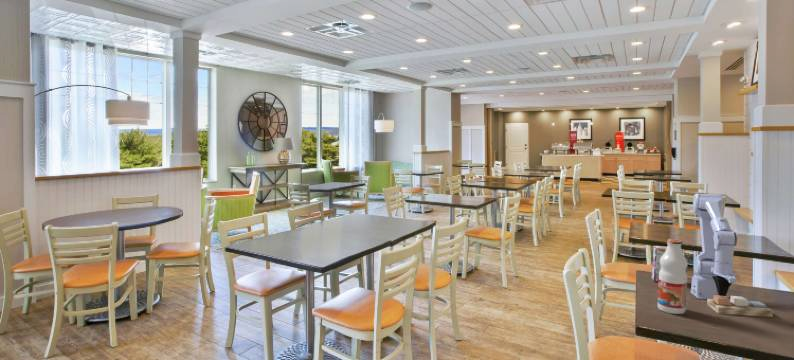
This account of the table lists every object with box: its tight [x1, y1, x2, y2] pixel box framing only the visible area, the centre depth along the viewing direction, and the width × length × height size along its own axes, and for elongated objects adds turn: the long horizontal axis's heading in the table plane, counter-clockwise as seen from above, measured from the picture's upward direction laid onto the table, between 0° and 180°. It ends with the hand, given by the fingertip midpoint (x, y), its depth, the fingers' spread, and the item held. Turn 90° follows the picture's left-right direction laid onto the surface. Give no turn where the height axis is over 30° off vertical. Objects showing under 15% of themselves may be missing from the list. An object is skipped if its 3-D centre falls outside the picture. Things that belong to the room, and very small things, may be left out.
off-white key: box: [729, 295, 749, 306], centre depth 169 cm, size 4×4×2 cm
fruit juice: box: [657, 238, 688, 315], centre depth 170 cm, size 9×9×28 cm
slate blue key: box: [748, 300, 767, 308], centre depth 168 cm, size 4×4×2 cm
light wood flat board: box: [706, 299, 774, 318], centre depth 170 cm, size 18×9×2 cm, turn 77°
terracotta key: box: [713, 295, 731, 305], centre depth 171 cm, size 4×4×2 cm
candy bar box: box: [651, 245, 684, 283], centre depth 204 cm, size 11×5×16 cm, turn 71°
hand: (721, 295), depth 170 cm, fingers closed
